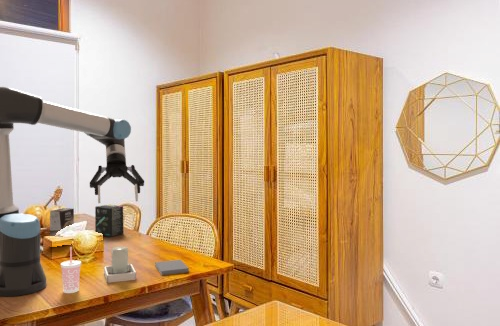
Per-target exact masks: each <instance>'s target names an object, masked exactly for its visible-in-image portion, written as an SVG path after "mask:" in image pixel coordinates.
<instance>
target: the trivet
mask: <svg viewBox="0 0 500 326" xmlns="http://www.w3.org/2000/svg"><path fill="white" fill-rule="evenodd" d="M154 266H155V269H156V270H157V271H158V272H159V273H160V275H161V276H166V275H168V276H169V275H175V274H184V273H189V272H190V270H189V269H190V268H189V267H188V266H187V265H186V264H185V263H184V261H182V260H181V259H173V260H165V261H154Z"/></svg>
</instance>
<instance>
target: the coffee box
mask: <svg viewBox="0 0 500 326" xmlns="http://www.w3.org/2000/svg"><path fill="white" fill-rule="evenodd" d="M74 209H75V208H68V207H67V208H65V207H64V208H63V207H62V208H58V209H54V210H50V211H49V237H50V236H55V235H56V233H57V232H58V231H60V230H61V229H63V228H65V227H66V226H69V225H72V224H74V225H75V222H74V221H75V214H74V213H75V210H74Z"/></svg>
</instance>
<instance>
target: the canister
mask: <svg viewBox="0 0 500 326" xmlns="http://www.w3.org/2000/svg"><path fill="white" fill-rule="evenodd" d="M128 264H129V247H128V246H114V247H112V248H111V266H112V273H111V275H113V274H122V273H129V271H128Z"/></svg>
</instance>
